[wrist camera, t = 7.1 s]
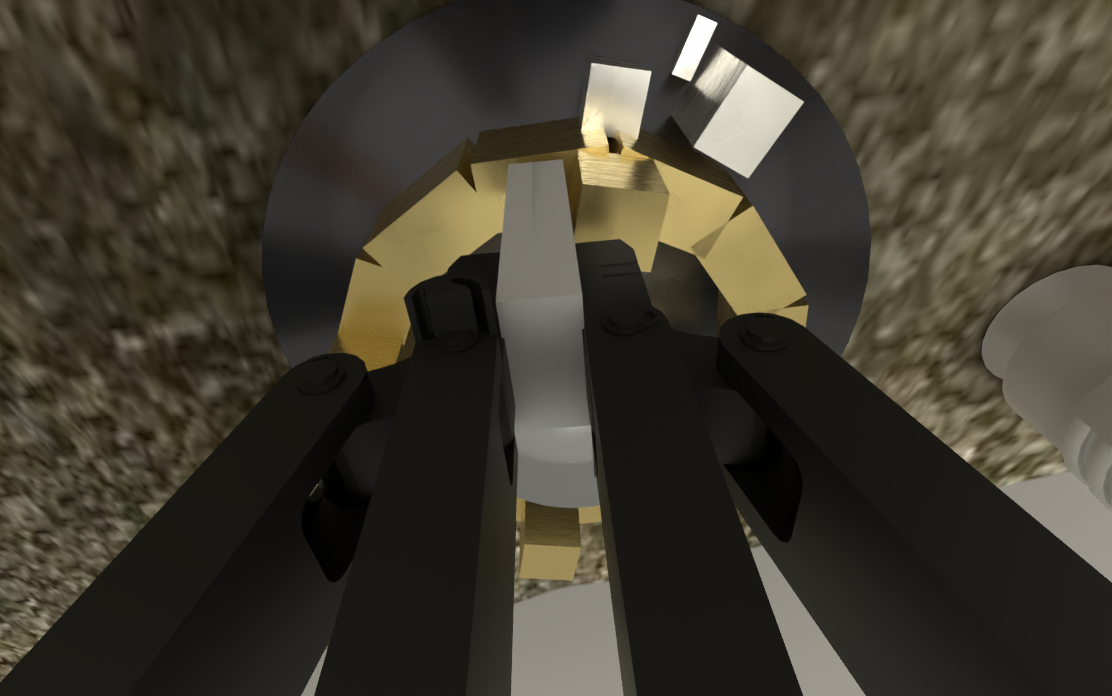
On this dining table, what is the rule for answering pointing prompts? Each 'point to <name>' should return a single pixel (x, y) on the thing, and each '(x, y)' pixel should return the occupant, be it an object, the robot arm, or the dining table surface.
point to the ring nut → (597, 214)
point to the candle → (1061, 367)
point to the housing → (554, 94)
